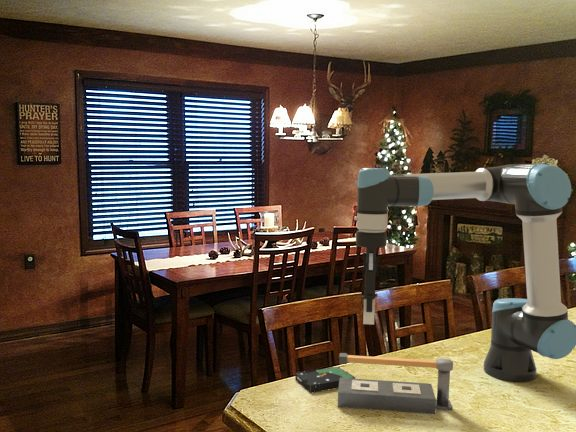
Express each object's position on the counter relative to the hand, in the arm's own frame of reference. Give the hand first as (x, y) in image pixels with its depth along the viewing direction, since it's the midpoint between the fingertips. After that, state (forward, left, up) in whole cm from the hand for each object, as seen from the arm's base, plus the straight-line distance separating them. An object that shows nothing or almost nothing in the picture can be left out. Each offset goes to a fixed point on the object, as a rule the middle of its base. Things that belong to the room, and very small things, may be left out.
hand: (368, 323), depth 138 cm
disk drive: (+12, -19, -25) cm, 33 cm away
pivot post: (-20, -8, -24) cm, 32 cm away
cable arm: (-7, -8, -13) cm, 17 cm away
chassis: (-5, -8, -24) cm, 26 cm away
